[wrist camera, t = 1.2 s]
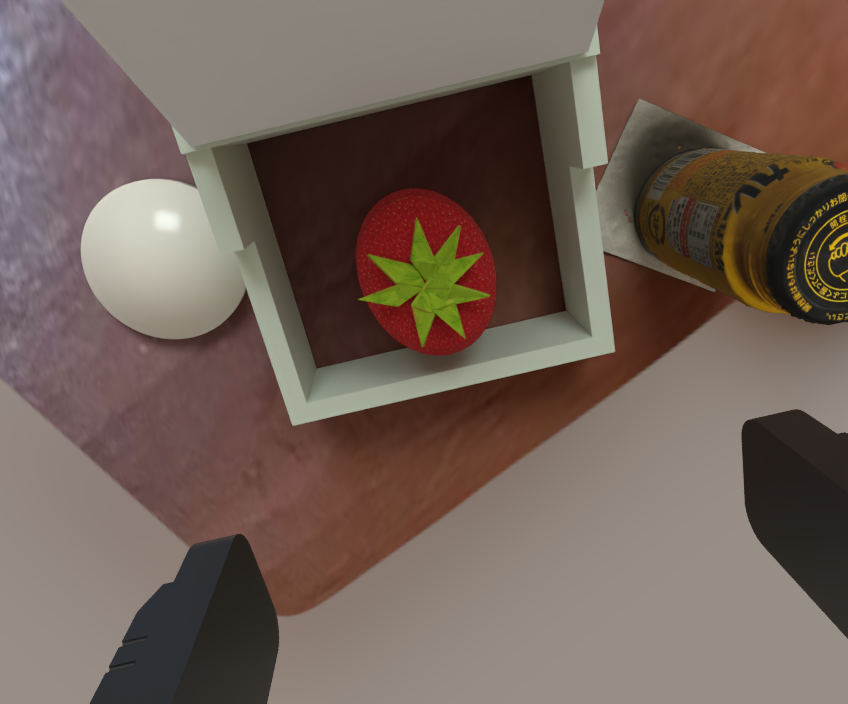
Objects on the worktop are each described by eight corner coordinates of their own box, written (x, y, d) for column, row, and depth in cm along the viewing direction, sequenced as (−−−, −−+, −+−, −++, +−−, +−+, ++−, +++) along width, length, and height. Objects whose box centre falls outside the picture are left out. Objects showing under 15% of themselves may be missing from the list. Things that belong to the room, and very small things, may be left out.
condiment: (712, 291, 34) (877, 373, 22) (573, 239, 32) (675, 300, 21) (781, 160, 31) (1003, 178, 20) (636, 98, 30) (786, 81, 19)
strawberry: (398, 336, 33) (404, 418, 24) (336, 206, 31) (315, 242, 21) (499, 292, 33) (545, 358, 23) (444, 157, 30) (471, 170, 21)
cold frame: (175, -11, 27) (-150, -224, 11) (529, -98, 27) (758, -457, 10) (304, 388, 34) (227, 634, 18) (586, 323, 34) (778, 511, 17)
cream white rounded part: (61, 199, 30) (53, 201, 29) (220, 161, 30) (216, 162, 29) (125, 349, 33) (119, 354, 32) (270, 315, 33) (267, 319, 32)
